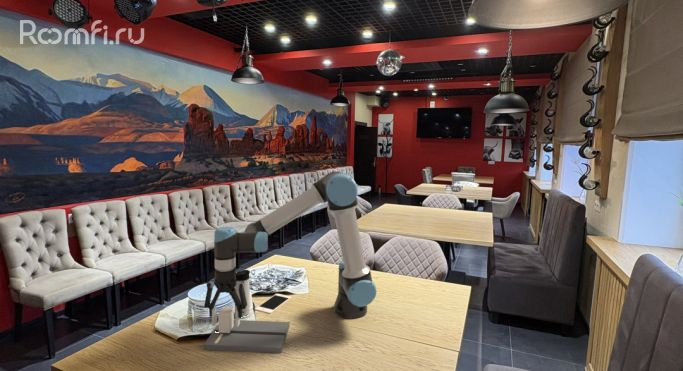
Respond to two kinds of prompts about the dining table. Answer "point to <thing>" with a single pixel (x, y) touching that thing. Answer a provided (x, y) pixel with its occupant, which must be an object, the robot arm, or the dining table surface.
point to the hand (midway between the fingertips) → (226, 324)
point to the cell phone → (273, 303)
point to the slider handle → (226, 319)
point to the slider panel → (250, 337)
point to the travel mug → (244, 277)
